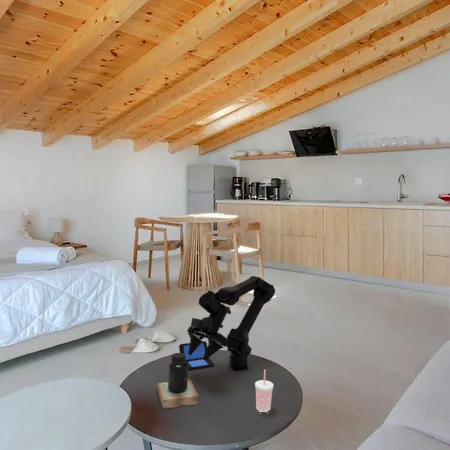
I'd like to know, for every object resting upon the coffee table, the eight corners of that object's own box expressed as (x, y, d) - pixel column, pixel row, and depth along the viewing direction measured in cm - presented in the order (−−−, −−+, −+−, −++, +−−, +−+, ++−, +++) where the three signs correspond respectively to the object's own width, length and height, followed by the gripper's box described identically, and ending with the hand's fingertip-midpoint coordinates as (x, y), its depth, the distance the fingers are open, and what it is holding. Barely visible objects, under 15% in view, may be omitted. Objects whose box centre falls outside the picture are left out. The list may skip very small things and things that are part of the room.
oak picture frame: (190, 387, 151) (190, 379, 151) (198, 404, 140) (198, 395, 139) (157, 391, 147) (157, 382, 147) (162, 408, 136) (163, 399, 136)
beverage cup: (258, 403, 141) (260, 364, 140) (275, 408, 138) (277, 368, 137) (250, 411, 136) (252, 370, 135) (267, 417, 133) (269, 375, 132)
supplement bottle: (189, 392, 141) (190, 358, 140) (169, 394, 139) (170, 360, 138) (185, 383, 147) (186, 350, 146) (166, 385, 145) (167, 352, 144)
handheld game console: (186, 372, 164) (186, 354, 163) (178, 361, 173) (178, 344, 173) (215, 367, 169) (215, 349, 168) (205, 357, 179) (206, 340, 178)
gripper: (187, 305, 159) (167, 342, 153) (217, 311, 145) (196, 352, 138) (206, 319, 165) (187, 355, 158) (236, 326, 150) (217, 366, 144)
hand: (196, 357), depth 150 cm, fingers open, 9 cm apart
